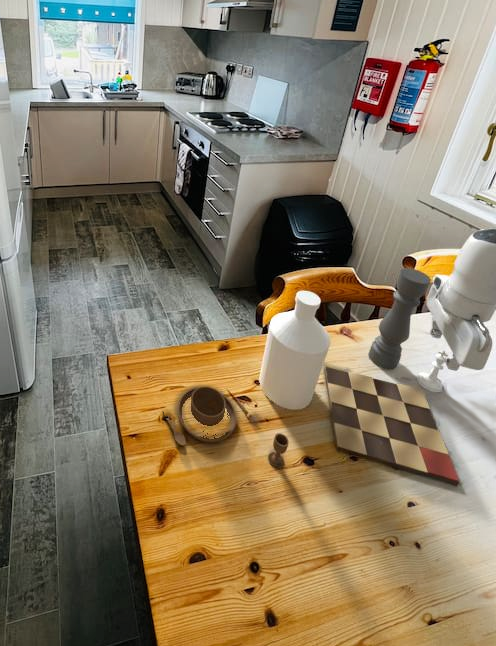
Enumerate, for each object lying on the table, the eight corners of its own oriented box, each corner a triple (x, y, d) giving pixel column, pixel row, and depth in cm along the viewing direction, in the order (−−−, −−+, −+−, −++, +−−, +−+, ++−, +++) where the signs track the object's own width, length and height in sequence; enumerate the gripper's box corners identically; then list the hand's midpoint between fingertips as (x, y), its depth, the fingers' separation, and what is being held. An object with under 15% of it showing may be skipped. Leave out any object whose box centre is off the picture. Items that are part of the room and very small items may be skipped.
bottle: (281, 418, 82) (307, 324, 71) (247, 373, 92) (265, 286, 81) (325, 400, 86) (355, 310, 75) (287, 359, 96) (309, 275, 85)
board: (420, 393, 88) (422, 389, 87) (457, 486, 71) (460, 481, 70) (323, 370, 93) (325, 365, 93) (336, 450, 76) (337, 446, 75)
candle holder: (391, 374, 93) (427, 288, 83) (364, 358, 97) (394, 274, 87) (400, 360, 97) (435, 276, 86) (373, 345, 101) (404, 264, 91)
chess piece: (419, 370, 94) (433, 338, 90) (444, 383, 91) (460, 351, 87) (414, 382, 91) (428, 350, 87) (439, 396, 88) (456, 363, 83)
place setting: (223, 380, 90) (226, 361, 87) (289, 463, 73) (295, 442, 71) (155, 408, 83) (157, 388, 80) (211, 507, 66) (215, 486, 64)
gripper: (512, 341, 71) (481, 394, 77) (463, 276, 89) (441, 323, 95) (471, 332, 73) (443, 385, 79) (431, 270, 91) (411, 317, 96)
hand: (442, 350), depth 87 cm, fingers open, 8 cm apart
